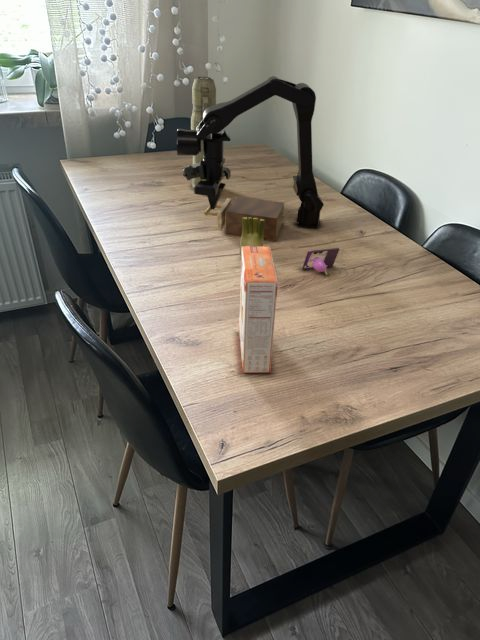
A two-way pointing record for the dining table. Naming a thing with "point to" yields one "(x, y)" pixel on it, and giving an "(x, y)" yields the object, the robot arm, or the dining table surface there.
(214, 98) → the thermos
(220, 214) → the drawer
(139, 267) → the dining table surface
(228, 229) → the cabinet
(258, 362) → the cracker box
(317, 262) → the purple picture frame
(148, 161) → the dining table surface
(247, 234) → the fennel bulb
